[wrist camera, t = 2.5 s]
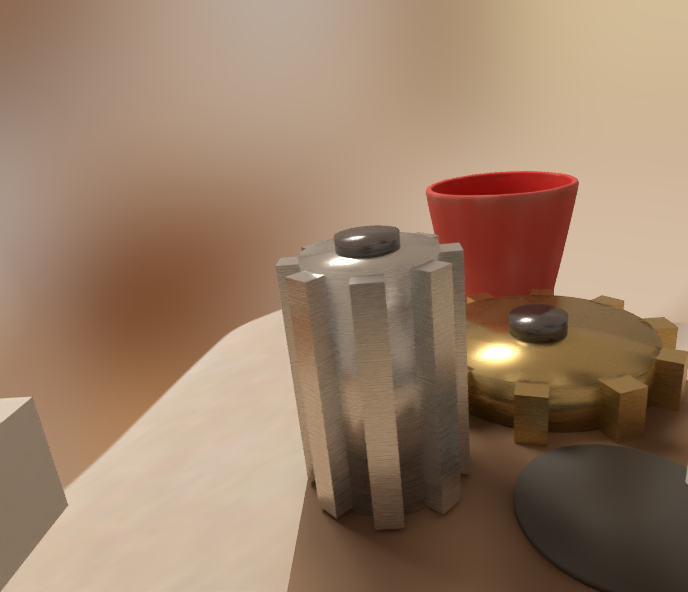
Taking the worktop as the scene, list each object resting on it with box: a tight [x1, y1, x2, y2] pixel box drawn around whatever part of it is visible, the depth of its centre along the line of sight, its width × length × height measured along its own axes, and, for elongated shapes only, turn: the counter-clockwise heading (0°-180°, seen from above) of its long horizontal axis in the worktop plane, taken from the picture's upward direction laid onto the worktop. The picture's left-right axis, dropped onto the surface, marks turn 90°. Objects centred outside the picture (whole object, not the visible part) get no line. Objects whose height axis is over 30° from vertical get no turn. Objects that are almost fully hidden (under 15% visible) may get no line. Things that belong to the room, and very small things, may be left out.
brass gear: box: [465, 289, 688, 447], centre depth 29 cm, size 14×14×4 cm
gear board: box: [287, 380, 688, 592], centre depth 26 cm, size 19×22×1 cm
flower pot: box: [426, 171, 579, 304], centre depth 41 cm, size 11×11×10 cm
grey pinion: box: [275, 226, 470, 530], centre depth 21 cm, size 7×7×11 cm
